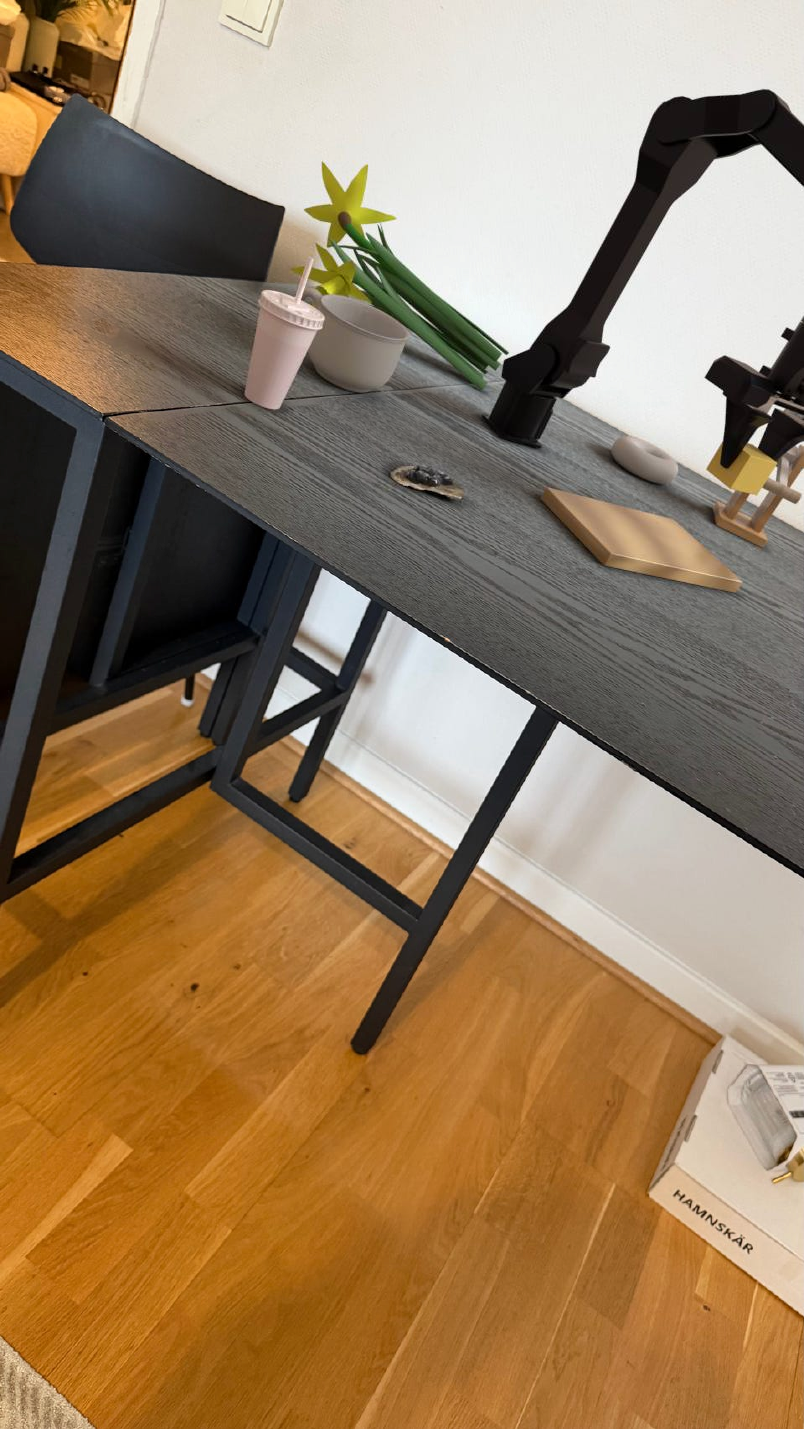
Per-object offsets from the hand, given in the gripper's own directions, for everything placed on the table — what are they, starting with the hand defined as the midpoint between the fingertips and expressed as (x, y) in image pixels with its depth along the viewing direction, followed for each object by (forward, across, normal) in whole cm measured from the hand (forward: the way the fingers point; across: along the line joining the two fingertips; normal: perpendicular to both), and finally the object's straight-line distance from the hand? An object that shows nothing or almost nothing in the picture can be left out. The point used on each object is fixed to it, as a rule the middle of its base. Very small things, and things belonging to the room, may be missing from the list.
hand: (737, 471), depth 105 cm
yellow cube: (+1, 0, 0) cm, 1 cm away
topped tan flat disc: (+11, -35, +3) cm, 37 cm away
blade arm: (+2, +19, +10) cm, 22 cm away
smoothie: (+11, -49, +15) cm, 52 cm away
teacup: (+11, -36, +30) cm, 48 cm away
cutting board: (+11, -8, -1) cm, 14 cm away
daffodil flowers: (+11, -18, +53) cm, 57 cm away
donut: (+11, +12, +26) cm, 31 cm away
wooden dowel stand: (+11, +21, +13) cm, 27 cm away
